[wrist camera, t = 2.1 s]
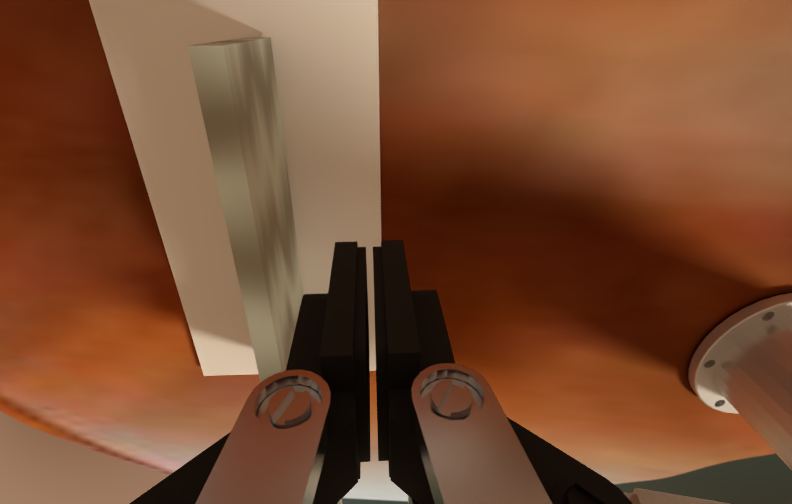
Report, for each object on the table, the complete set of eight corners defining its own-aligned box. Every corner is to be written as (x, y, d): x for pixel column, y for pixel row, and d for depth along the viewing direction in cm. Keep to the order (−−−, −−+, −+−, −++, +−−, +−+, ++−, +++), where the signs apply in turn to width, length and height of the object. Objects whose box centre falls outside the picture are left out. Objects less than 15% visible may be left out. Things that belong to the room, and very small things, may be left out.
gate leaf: (311, 325, 30) (294, 411, 23) (286, 326, 30) (261, 412, 23) (276, 37, 21) (231, 45, 14) (240, 37, 21) (178, 45, 14)
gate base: (383, 362, 34) (386, 499, 24) (207, 368, 33) (139, 510, 23) (377, -20, 21) (379, -52, 11) (91, -22, 20) (-161, -59, 11)
